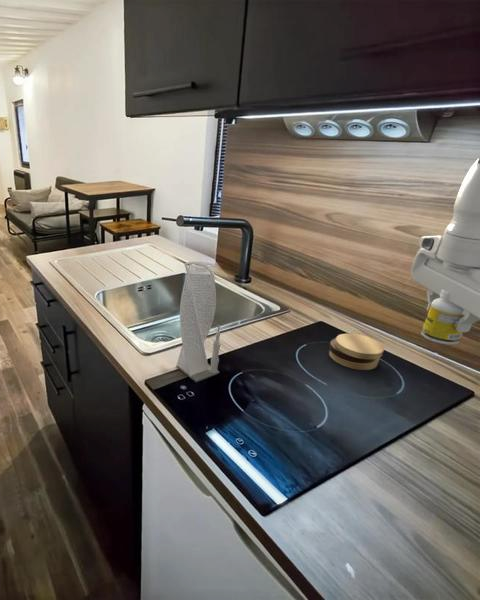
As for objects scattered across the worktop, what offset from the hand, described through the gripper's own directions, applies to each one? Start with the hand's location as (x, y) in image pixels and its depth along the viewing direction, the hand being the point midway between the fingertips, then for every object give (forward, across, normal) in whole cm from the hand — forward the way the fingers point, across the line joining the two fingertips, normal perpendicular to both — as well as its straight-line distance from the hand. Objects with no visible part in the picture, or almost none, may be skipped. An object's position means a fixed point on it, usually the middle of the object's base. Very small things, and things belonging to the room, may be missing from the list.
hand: (445, 321), depth 68 cm
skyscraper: (+17, +5, +44) cm, 48 cm away
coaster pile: (+17, +13, +6) cm, 22 cm away
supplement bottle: (+4, 0, 0) cm, 4 cm away
